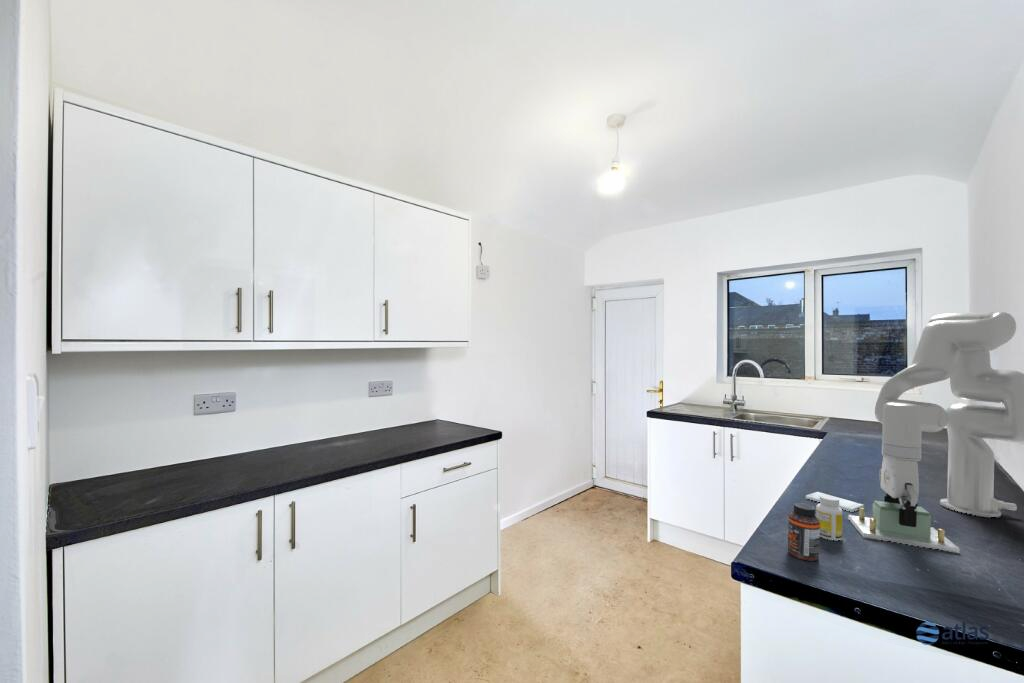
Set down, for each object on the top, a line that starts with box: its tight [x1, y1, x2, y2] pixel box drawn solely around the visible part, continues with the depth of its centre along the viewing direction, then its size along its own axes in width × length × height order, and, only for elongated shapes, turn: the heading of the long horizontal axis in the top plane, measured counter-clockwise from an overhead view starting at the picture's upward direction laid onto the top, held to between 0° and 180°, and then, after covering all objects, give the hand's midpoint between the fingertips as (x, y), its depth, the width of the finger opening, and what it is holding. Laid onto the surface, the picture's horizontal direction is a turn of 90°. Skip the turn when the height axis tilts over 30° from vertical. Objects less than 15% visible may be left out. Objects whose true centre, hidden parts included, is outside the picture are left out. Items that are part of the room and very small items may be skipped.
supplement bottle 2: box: [815, 494, 844, 542], centre depth 109 cm, size 5×5×10 cm
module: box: [871, 500, 932, 538], centre depth 111 cm, size 10×5×6 cm, turn 66°
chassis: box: [847, 507, 960, 554], centre depth 111 cm, size 18×13×4 cm
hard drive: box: [805, 491, 865, 513], centre depth 134 cm, size 2×8×12 cm
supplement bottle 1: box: [787, 502, 821, 562], centre depth 99 cm, size 6×6×11 cm
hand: (899, 518), depth 111 cm, fingers open, 9 cm apart
